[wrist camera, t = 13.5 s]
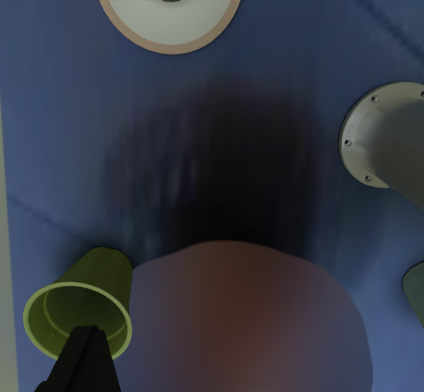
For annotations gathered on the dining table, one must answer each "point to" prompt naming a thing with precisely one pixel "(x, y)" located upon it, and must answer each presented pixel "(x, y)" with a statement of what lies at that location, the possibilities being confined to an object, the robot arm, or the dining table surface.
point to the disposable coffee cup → (415, 290)
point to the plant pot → (83, 303)
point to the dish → (170, 22)
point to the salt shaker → (170, 0)
